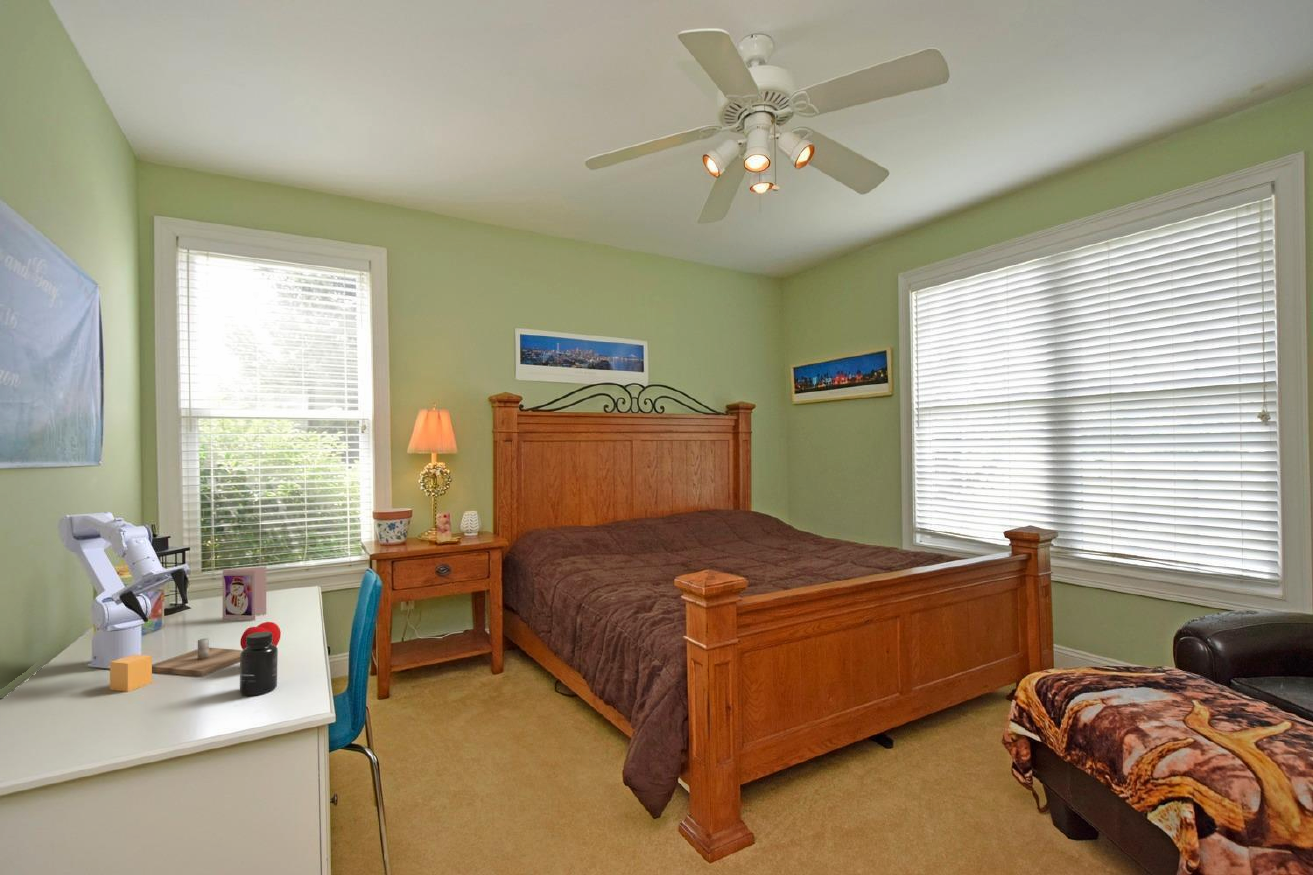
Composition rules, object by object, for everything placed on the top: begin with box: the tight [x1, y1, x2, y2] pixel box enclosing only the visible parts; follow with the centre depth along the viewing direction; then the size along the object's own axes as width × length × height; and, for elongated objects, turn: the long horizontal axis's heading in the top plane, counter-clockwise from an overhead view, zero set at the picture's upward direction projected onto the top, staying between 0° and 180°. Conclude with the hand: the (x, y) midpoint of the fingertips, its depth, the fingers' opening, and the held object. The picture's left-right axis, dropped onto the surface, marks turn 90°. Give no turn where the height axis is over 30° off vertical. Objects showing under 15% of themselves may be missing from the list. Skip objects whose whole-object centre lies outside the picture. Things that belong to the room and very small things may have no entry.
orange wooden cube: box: [109, 654, 153, 693], centre depth 135 cm, size 5×5×6 cm
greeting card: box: [222, 566, 267, 621], centre depth 190 cm, size 11×7×15 cm, turn 81°
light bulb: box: [240, 621, 282, 650], centre depth 147 cm, size 9×7×10 cm
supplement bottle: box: [239, 632, 279, 697], centre depth 132 cm, size 7×7×12 cm
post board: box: [152, 637, 243, 677], centre depth 149 cm, size 16×14×6 cm
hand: (165, 610), depth 140 cm, fingers open, 7 cm apart
